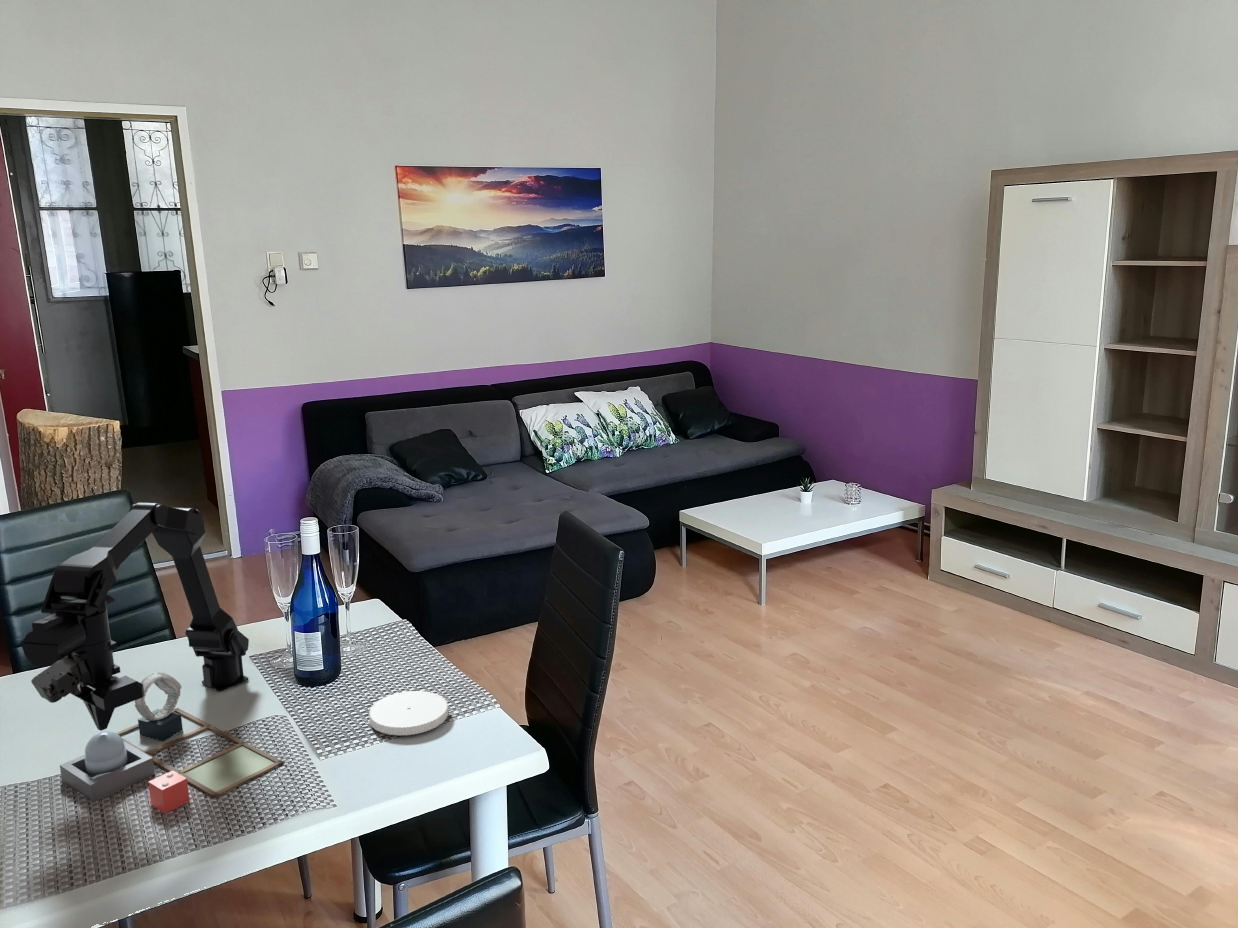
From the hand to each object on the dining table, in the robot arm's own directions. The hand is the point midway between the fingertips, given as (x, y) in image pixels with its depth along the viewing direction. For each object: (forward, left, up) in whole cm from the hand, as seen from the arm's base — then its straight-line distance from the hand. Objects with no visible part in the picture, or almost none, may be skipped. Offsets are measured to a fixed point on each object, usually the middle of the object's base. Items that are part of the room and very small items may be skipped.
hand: (102, 729), depth 154 cm
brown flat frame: (-13, +3, -9) cm, 16 cm away
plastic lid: (-42, +25, -9) cm, 50 cm away
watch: (-13, -7, -9) cm, 17 cm away
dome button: (0, 0, -6) cm, 6 cm away
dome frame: (0, 0, -9) cm, 9 cm away
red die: (-2, +15, -9) cm, 18 cm away
